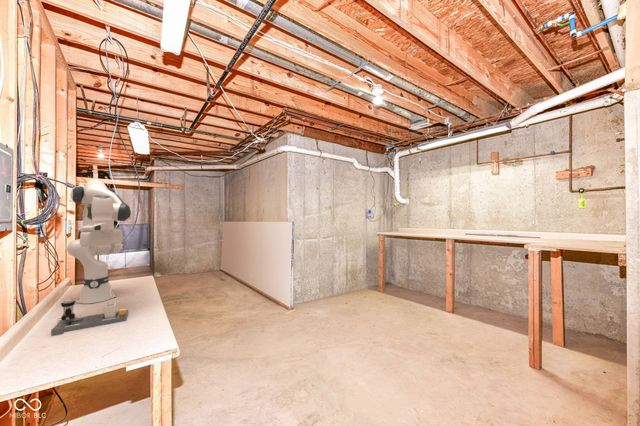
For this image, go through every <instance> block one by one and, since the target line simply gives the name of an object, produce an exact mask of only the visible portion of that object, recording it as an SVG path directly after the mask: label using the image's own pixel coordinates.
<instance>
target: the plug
mask: <svg viewBox="0 0 640 426" xmlns="http://www.w3.org/2000/svg"><path fill="white" fill-rule="evenodd" d="M116 312H117V303H116V302H109V303H107V304H105V305H104V314H105V319H106V318H112V317H116Z"/></svg>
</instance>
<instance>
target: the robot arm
mask: <svg viewBox="0 0 640 426" xmlns="http://www.w3.org/2000/svg"><path fill="white" fill-rule="evenodd" d="M69 196H70V199H71V200H72V202H73V203H74V204H79V205H81V204H84V207H83V212H82V226H81V227H80V231H81V232H80V235H79V238H78V239H77V238H76V239H74V240H71V241H70V242H69V243H68V245H67V250H66V251H67V253H68V254H69V255H70V256H71V257H74V258H75V259H77V260H78V261H80V263H81V264H82V267H83V273H84V276H83V277H84V278H83V282H82V283H83V286H82V287H81V288H80V289H79V299H78V300H75V301H76V302H75V304H84V305H85V304H95V303H100V302H104V301H108V300H111V299H114V297H115V298H117V297H116V294H115V292H114V290H113V289H112V285H111V284H110V282H109V280H110V277H109V274H108V271H109V270H108V269H109V268H108V267H109V266H108V263H107V262H105V261H103V260H100V259H96V257H95V256H102V255H111V254H116V253H118V252H119V251H120V250H121V249H122V247H123V241H124V239H123V233H122V229H121V227H119V226H115V223H114V222H117V221H119V222H125V221H127V220H129V218H130V217H131V212H132V211H131V207H130V206H129V205H128V204H127V203H126V202H124V201H123V199H122V198H121V197H120V195H118V194H117V192H116V191H115V189H114V188H110V187H107V185H106V184H105V183H104V182H103V181H101V180H99V179H90V180H88V181H87V182H86V183H85V185H84V186H81V185H79V186H75V187H73V188H72V189H71V191H70V195H69Z"/></svg>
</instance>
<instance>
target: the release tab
mask: <svg viewBox="0 0 640 426" xmlns="http://www.w3.org/2000/svg"><path fill="white" fill-rule="evenodd" d="M126 310H127V309H126V308H121V309H119V310H118V311H119V315H125V314H126Z"/></svg>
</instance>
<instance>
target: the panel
mask: <svg viewBox="0 0 640 426" xmlns="http://www.w3.org/2000/svg"><path fill="white" fill-rule="evenodd" d="M119 311H120V310H118V311H117V310H116V317H112V318H106V319H105V313H99V314H94V315H88V316H87V315H86V316H80V317H75V318H74V319H68V320H62V321H58V323H56V324H55V326H53V328H52V329H51V331H50V337H54V336H60V335H64V334H65V333H67V332H72V331H78V330H79V331H80V330H83V329H89V328H94V327H100V326H106V325H111V324H112V325H113V324H116V323H117V324H118V323H122V322H126V320H127V319H128V315H129V309H126V314H125V315H119Z"/></svg>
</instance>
